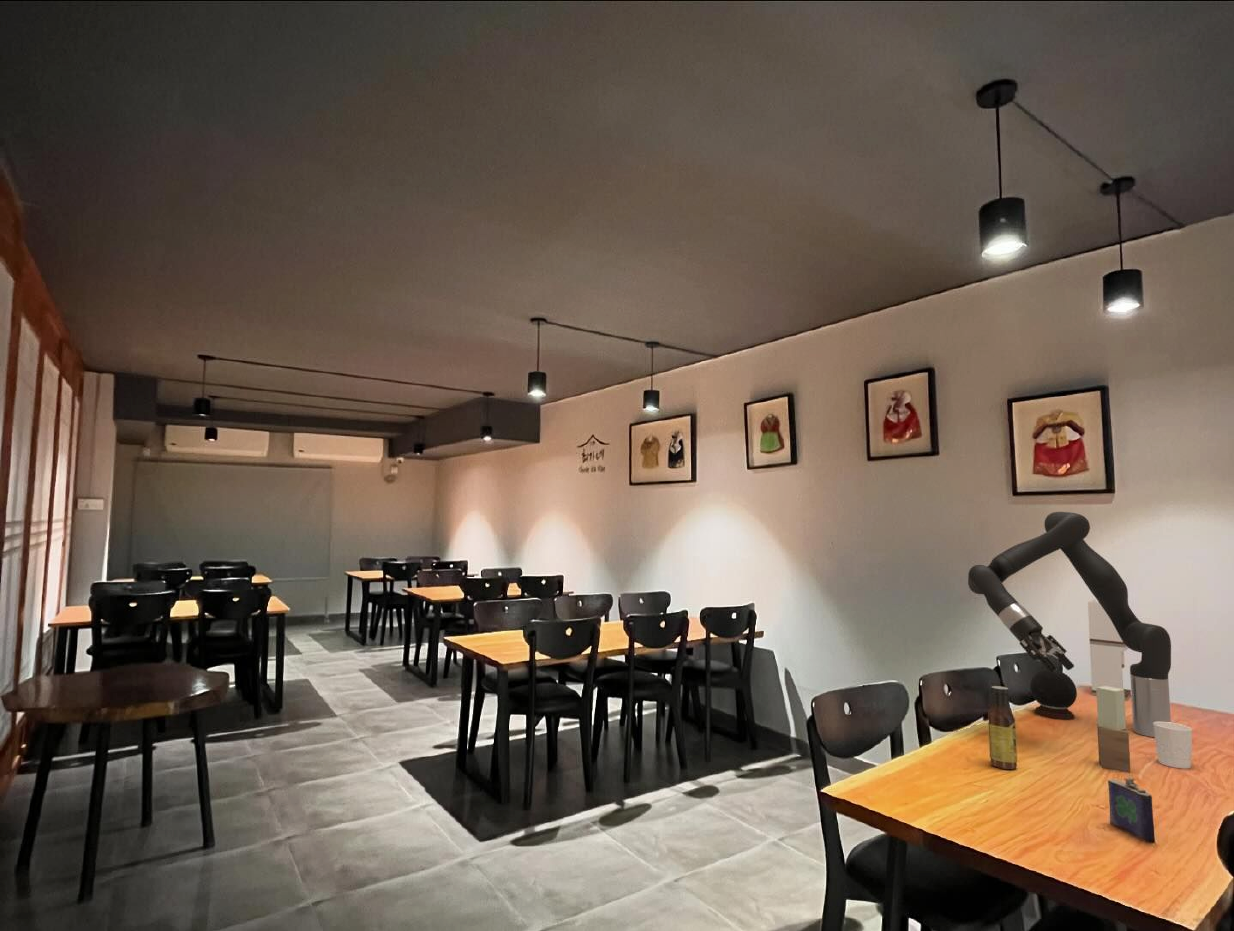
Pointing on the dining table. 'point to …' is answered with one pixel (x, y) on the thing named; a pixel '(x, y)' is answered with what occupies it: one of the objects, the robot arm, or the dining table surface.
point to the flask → (1131, 809)
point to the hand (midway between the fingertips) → (1063, 669)
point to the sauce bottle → (1002, 730)
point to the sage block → (1111, 708)
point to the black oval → (1053, 694)
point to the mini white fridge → (1105, 651)
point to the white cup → (1173, 744)
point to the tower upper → (1113, 739)
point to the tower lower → (1114, 760)
